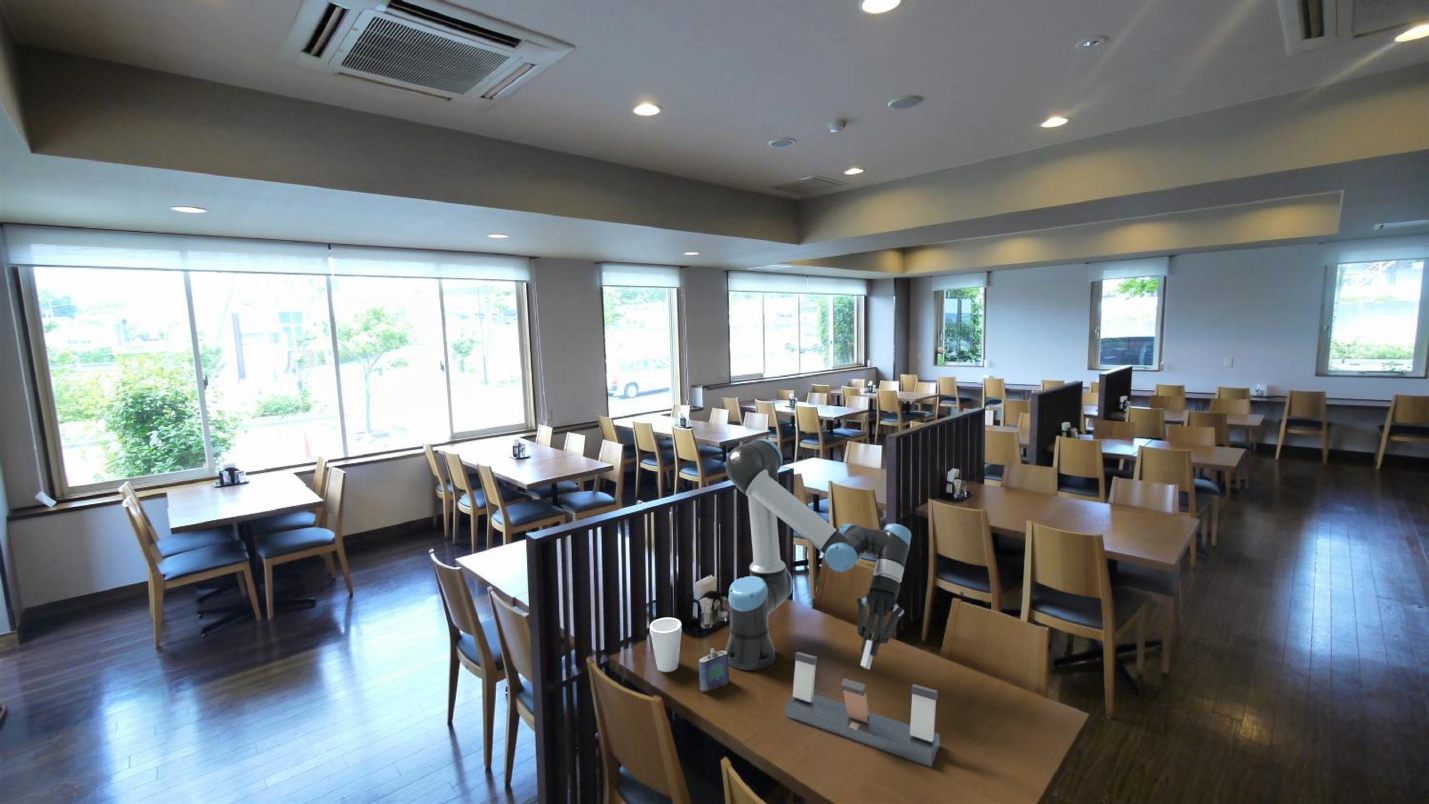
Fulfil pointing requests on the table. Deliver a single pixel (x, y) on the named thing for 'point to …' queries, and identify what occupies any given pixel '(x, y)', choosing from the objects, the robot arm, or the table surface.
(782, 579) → the robot arm
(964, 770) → the table surface
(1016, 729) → the table surface
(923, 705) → the lever right
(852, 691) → the lever middle
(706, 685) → the flask
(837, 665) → the table surface
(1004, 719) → the table surface
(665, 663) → the foam cup
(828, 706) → the switch panel
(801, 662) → the lever left
